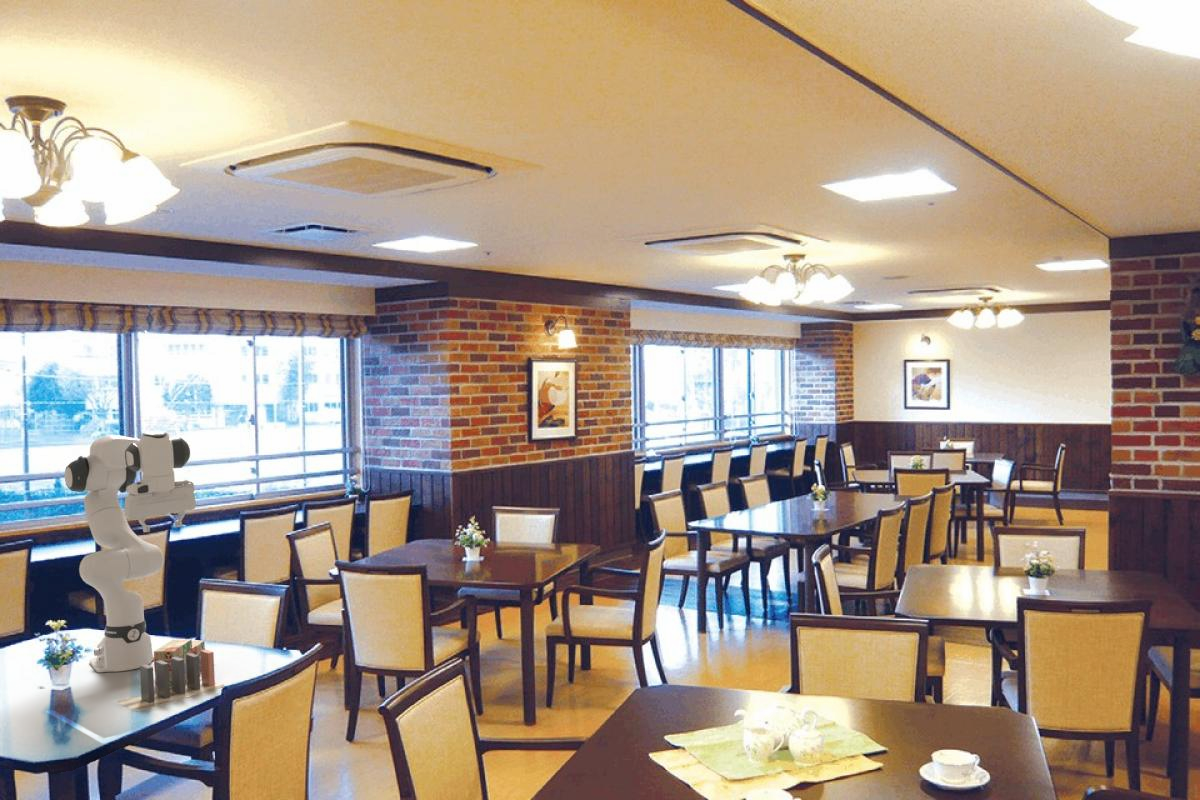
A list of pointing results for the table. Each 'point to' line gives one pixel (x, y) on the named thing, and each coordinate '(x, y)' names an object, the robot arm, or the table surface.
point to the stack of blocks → (178, 653)
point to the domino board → (139, 704)
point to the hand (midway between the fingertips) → (162, 529)
